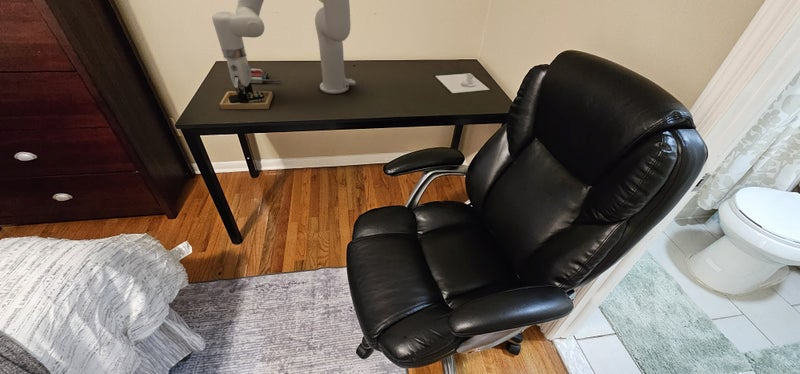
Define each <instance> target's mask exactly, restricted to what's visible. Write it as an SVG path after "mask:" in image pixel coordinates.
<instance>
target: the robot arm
mask: <svg viewBox="0 0 800 374" xmlns="http://www.w3.org/2000/svg"><path fill="white" fill-rule="evenodd" d="M264 1H265V0H237V5H236V9H235V13H233V12H230V11H219V12H215V13H213V15H212V17H211V19H212V23H213V27H214V29H215V33H216V36H217V39H218V42H219V46H220V49H221V53H222V56H223V59H226V63H227V68H228V73H229V77H230V80H231V82H232V85H233V88H234V90H235V92H237V95H238V98H239V102H240V103H249V100H248V97H247V93H252V92H253V91H254V89H253V86H252V83H251V79H252V74H251V70H250V69H251V67H250V64H249V60H248V58H247V51H246V48H245V45H244V44H245V43H244V40H243V39H244V38H259V37H261V36H262V35H263V34H264V32H265V24H264V22H263V19H262V18H261V17H260V14H261V10H262V6H263V3H264ZM318 1H319V2H320V3H322V4H323V6H322V7H320V8H319V9H318V10H317V11H316V12H315V16H314V24H315V30H316V35H317V40H318V47H319V48H318V49H319V56H320V57H319V58H320V67H321V76H322V82H321V83H320V84H319V89H320V91H321V92H323V93H326V94H332V95H333V94H334V95H335V94H337V95H338V94H343V93H345V92H347V91H348V90H349V89H350V86H356V80H353V78H346V75H345V59H344V58H345V57H344V44H343V43H344V41H346V39H348V37H349V35H350V33H351V27H352V26H351V23H352V22H351V7H350V6H351V5H350V0H318Z"/></svg>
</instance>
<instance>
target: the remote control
mask: <svg viewBox="0 0 800 374" xmlns="http://www.w3.org/2000/svg"><path fill="white" fill-rule="evenodd" d="M247 97H248V100H249V103H254V102H261V101H264V100H265V96H264V94H263V93H262V92H261V91H260V90H259V92H252V93H247ZM229 101H230V103H240V102H239V98H238V95H231V96H229Z"/></svg>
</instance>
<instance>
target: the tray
mask: <svg viewBox="0 0 800 374" xmlns="http://www.w3.org/2000/svg"><path fill="white" fill-rule="evenodd" d="M259 91H260V90H259ZM259 91H254V90H253V92H259ZM261 92H262V93H263V94H264V96H265V100H264V101H261V102H254V103H230V101H229V96H231V95H237V92H236V91H227V92H226V93H225V94H224V96H223V98H222V99H221V101H220V102H219V107H220V110H269V108H270V105H271V103H272V100H273V97H274V95H273V92H272V91H263V90H262V91H261Z"/></svg>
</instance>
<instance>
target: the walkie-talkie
mask: <svg viewBox="0 0 800 374" xmlns="http://www.w3.org/2000/svg"><path fill="white" fill-rule="evenodd" d="M250 70H251V74H252V79H251V83H250V84H260V85H261V84H263V83H275V82H277V83H278V82H281V79H267V78H269V72H267V70H262V68H250Z"/></svg>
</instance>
